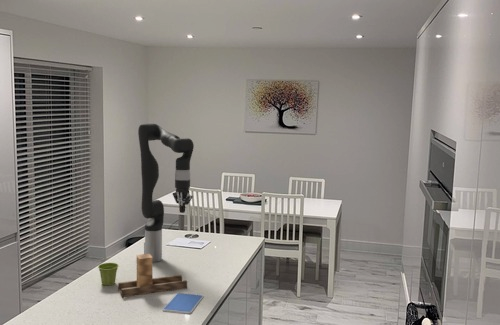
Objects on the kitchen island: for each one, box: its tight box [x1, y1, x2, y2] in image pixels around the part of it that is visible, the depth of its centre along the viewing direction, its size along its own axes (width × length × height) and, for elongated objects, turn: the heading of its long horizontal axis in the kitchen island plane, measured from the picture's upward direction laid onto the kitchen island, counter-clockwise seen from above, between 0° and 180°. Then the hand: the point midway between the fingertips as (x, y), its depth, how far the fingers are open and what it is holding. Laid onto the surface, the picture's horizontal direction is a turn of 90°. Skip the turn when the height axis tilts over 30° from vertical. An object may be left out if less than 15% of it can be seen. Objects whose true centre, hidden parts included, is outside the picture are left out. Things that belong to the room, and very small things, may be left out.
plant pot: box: [97, 262, 119, 286], centre depth 227 cm, size 9×9×9 cm
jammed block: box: [136, 253, 153, 287], centre depth 219 cm, size 6×6×15 cm
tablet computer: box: [162, 292, 204, 315], centre depth 206 cm, size 19×13×1 cm, turn 169°
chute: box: [117, 274, 188, 299], centre depth 221 cm, size 30×10×4 cm, turn 115°
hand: (182, 212), depth 239 cm, fingers closed
